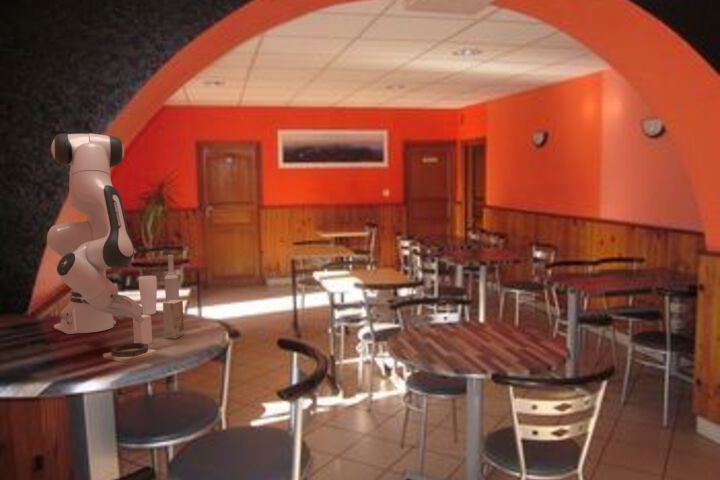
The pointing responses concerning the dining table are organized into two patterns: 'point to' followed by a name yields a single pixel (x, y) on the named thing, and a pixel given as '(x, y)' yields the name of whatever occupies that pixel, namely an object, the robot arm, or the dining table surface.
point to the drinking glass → (148, 294)
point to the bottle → (171, 282)
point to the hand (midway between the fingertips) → (132, 319)
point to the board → (128, 359)
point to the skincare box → (173, 319)
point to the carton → (143, 330)
